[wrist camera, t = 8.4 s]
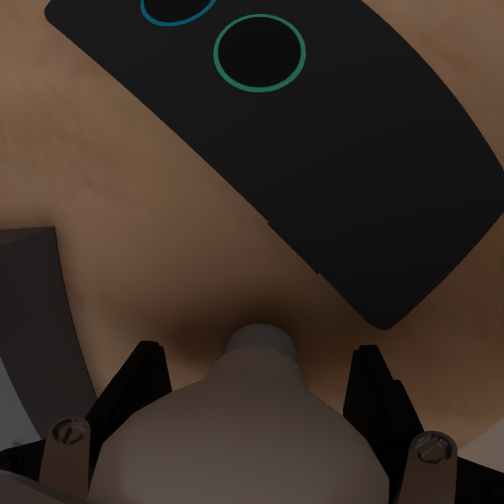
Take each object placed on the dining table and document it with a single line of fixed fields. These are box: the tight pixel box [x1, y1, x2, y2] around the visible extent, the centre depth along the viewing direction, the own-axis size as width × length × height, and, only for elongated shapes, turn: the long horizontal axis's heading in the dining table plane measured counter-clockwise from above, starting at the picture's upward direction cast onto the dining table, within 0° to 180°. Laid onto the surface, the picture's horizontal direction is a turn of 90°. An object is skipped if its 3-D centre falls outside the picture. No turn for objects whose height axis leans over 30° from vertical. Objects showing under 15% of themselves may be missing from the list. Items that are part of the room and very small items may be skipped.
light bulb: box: [86, 323, 389, 504], centre depth 7 cm, size 7×7×11 cm
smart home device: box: [44, 0, 504, 330], centre depth 9 cm, size 8×2×20 cm
